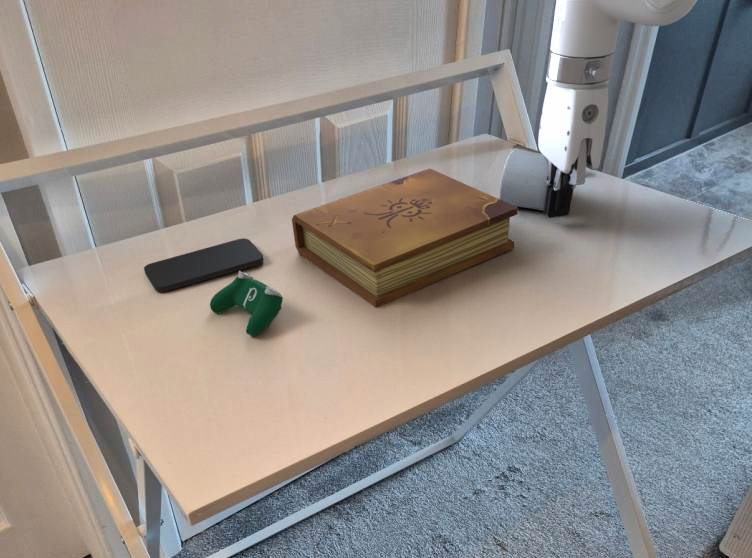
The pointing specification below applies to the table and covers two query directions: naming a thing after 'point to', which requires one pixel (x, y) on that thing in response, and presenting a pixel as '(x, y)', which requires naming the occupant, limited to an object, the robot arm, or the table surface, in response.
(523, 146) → the back rail
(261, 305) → the gaming controller
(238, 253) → the phone
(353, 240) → the diary
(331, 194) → the table surface
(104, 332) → the table surface
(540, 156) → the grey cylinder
